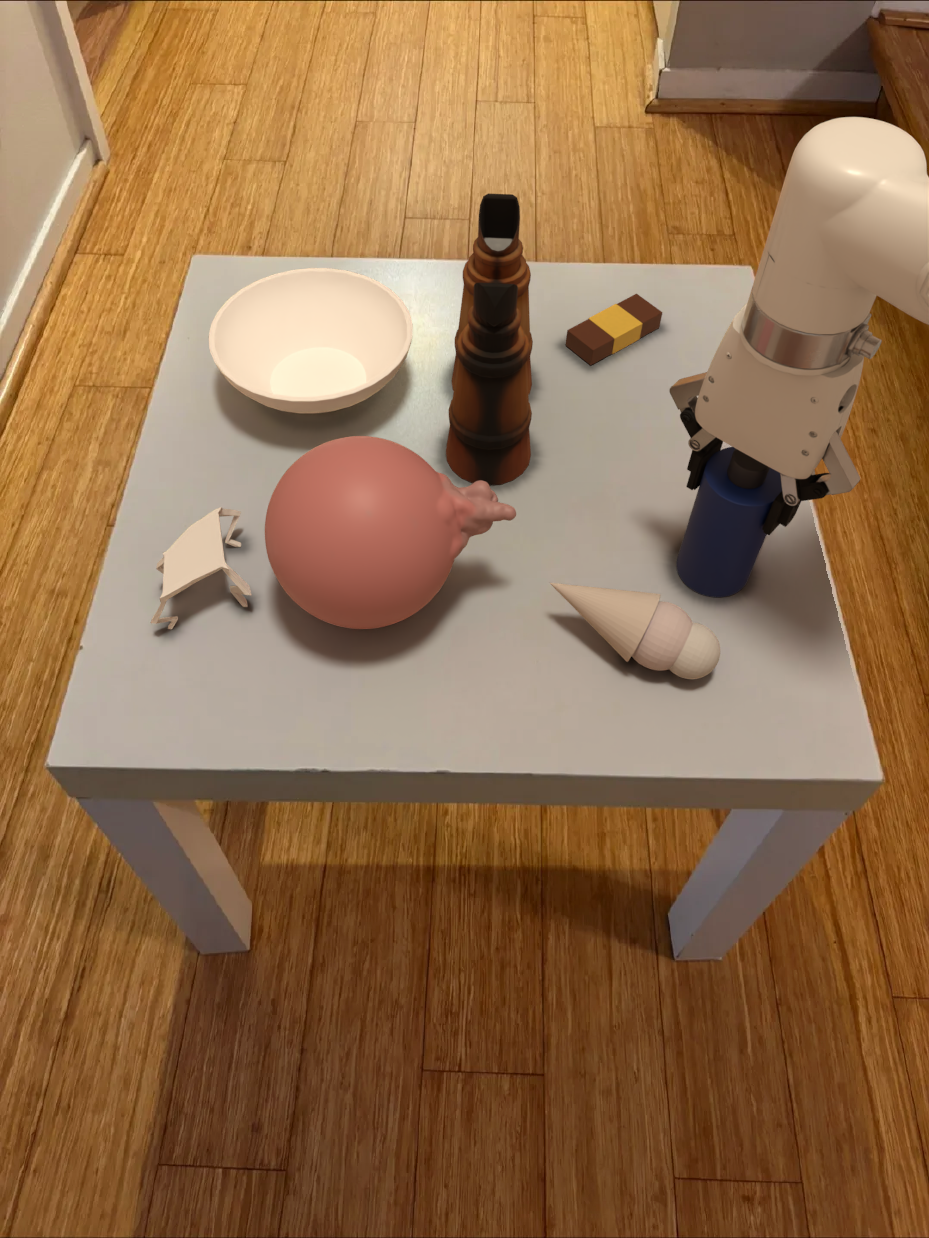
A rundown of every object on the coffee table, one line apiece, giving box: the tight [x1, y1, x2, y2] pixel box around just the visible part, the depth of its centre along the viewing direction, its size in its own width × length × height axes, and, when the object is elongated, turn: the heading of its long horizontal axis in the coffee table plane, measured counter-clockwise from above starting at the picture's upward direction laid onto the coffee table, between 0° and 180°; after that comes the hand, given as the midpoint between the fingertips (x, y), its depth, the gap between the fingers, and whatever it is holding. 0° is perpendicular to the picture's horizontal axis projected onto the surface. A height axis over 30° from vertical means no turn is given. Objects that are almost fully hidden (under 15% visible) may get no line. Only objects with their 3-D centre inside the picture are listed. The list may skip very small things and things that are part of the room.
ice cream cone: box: [549, 582, 721, 680], centre depth 80 cm, size 6×6×15 cm
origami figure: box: [150, 506, 252, 630], centre depth 83 cm, size 12×8×5 cm
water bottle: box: [675, 446, 782, 598], centre depth 81 cm, size 6×6×14 cm
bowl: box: [208, 267, 414, 414], centre depth 97 cm, size 20×20×7 cm
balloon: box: [264, 435, 517, 630], centre depth 79 cm, size 15×20×15 cm
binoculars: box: [445, 193, 534, 486], centre depth 89 cm, size 18×8×20 cm, turn 177°
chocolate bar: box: [565, 293, 663, 366], centre depth 104 cm, size 10×4×2 cm, turn 128°
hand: (737, 500), depth 79 cm, fingers closed on water bottle, 6 cm apart
